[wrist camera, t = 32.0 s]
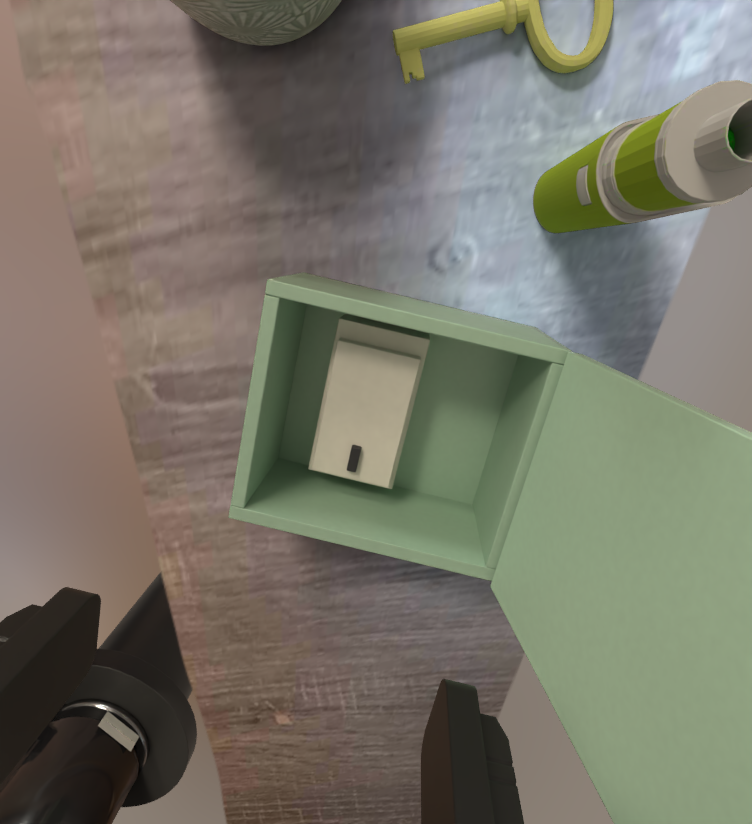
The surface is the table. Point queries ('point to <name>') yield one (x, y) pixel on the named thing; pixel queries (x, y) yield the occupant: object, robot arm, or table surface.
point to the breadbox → (426, 435)
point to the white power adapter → (368, 400)
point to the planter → (259, 18)
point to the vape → (655, 165)
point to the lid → (640, 594)
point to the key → (506, 14)
